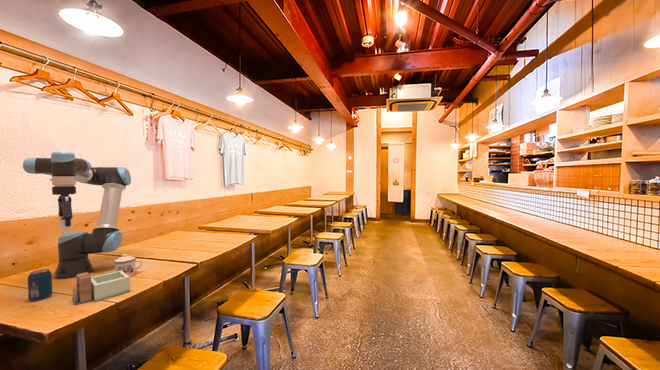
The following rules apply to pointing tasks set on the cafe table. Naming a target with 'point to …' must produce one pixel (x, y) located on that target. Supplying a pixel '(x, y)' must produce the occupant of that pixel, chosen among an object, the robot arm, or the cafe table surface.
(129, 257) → the teacup with lid
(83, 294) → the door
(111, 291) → the pale green open box
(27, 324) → the cafe table surface
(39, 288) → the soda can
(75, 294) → the hinge rail
